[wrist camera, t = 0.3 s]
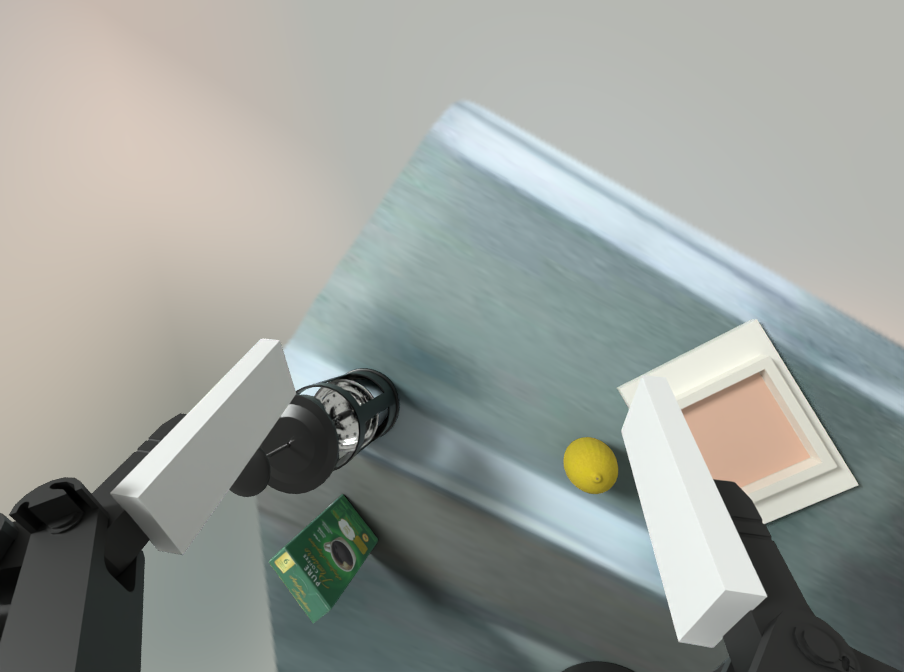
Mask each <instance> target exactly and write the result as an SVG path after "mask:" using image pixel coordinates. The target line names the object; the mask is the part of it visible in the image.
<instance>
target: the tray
mask: <svg viewBox="0 0 904 672" xmlns="http://www.w3.org/2000/svg"><path fill="white" fill-rule="evenodd" d="M643 375H646V376H657V377H666V379H667V381H668V383H669V385H670V388H671V390H672V392H673V394H674V396H675V398H676V401H677V403H678V405H679V407H680V409H681V411H682V413H683V416H684V418H685V420H686V422H687V424H688V426H689V429H690V431H691V433H692V435H693V437H694V439H695V442H696V444H697V446H698V448H699V450H700V452H701V454H702V457H703V459H704V461H705V463H706V465H707V467H708V470H709V472H710V474H711V476H712V478H713V479H716V480H724V481H732V482H735V483H736V484H737V485H738V486H739V487H740V488H741V489H742V490H743V491H744V492H745V493H746V494H747V495H748V496H749V497H750V498H751V500H752V501H753V503H754V505H755V507H756V508H757V510H758V512H759V514H760V516H761V518H762V522H763V524H766V523H768V522H770V521H773V520H775V519H778V518H780V517H782V516H785V515H787V514H790V513H792V512H795V511H797V510H799V509H802V508H804V507H807V506H809V505H812V504H814V503H816V502H819V501H821V500H824V499H826V498H828V497H831V496H833V495H836V494H838V493H841V492H843V491H845V490H848V489H850V488H853V487H855V486H858V483H857V481H856V480H855V478H854V476H853V475H852V473H851V472H850V470H849V468H848V467H847V465H846V463H845V462H844V460H843V459H842V457H841V455H840V454H839V452H838V450H837V449H836V447H835V445H834V444H833V442H832V441H831V439H830V437H829V436H828V434H827V432H826V431H825V429H824V428H823V426H822V424H821V423H820V421H819V419H818V418H817V416H816V415H815V413H814V411H813V410H812V408H811V406H810V405H809V403H808V401H807V400H806V398H805V397H804V395H803V393H802V392H801V390H800V388H799V387H798V385H797V384H796V382H795V380H794V379H793V377H792V375H791V374H790V372H789V371H788V369H787V367H786V366H785V364H784V362H783V361H782V359H781V358H780V356H779V354H778V353H777V351H776V349H775V348H774V346H773V344H772V343H771V341H770V340H769V338H768V336H767V335H766V333H765V331H764V330H763V328H762V327H761V325H760V323H759V322H758V320H757V319H751V320H750V321H748V322H746V323H744V324H742V325H740V326H738V327H736V328H734V329H732V330H730V331H728V332H726V333H724V334H722V335H720V336H718V337H716V338H714V339H712V340H710V341H708V342H706V343H704V344H702V345H700V346H698V347H696V348H694V349H692V350H690V351H688V352H686V353H684V354H683V355H681V356H679V357H677V358H675V359H673V360H671V361H669V362H667V363H665V364H663V365H661V366H659V367H657V368H655V369H653V370H651V371H649V372H647V373H645V374H643ZM641 376H642V375H641ZM641 376H639V377H637V378H635V379H633V380H631V381H629V382H627V383H625V384H623V385H621V386H619V387H617V389H618V391H619V392H620V394H621V396H622V398H623V399H624V401H625V403H626V404H627V406H628V408H629V409H630V406H631V403H632V400H633V398H634V395H635V392H636V390H637V387H638V384H639V382H640V379H641Z"/></svg>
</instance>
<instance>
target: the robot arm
mask: <svg viewBox="0 0 904 672" xmlns="http://www.w3.org/2000/svg"><path fill="white" fill-rule="evenodd" d="M295 395H296V391H295V388H294V385H293V381H292V378H291V375H290V372H289V368H288V365H287V362H286V359H285V355H284V352H283V349H282V345H281V343H280V340H271V339H260V340H259V341H258V342H257V343H256V344H255V345H254V347H252V348H251V349H250V351H249V352H248V353H247V354H246V355H245V356H244V357H243V358H242V359H241V360H240V361H239V362H238V363H237V364H236V365H235V366H234V367H233V368H232V369H231V370H230V371H229V372H228V373H227V374H226V375H225V376H224V377H223V378H222V379H221V380H220V381H219V382H218V383H217V384H216V385H215V386H214V387H213V388H212V389H211V390H210V391H209V393H207V395H206V396H205V397H204V398H203V399H202V400H201V401H200V402H199V403H198V404H197V405H196V406H195V407H194V408H193V409H192V410H191V411H190V412H189V413H188V414H179V415H177V416H175V417H174V418H172V419H170V420H169V421H167V422H166V423H164V424H162V425H161V426H160V427H159V428H158V429H157V430H156V431H155V432H154V433H153V434H152V435H151V436H150V437H149V440H148V441H145V442H144V443H143V444H142V445H141V446H140V447H139V448H138V451H137V452H134V453H133V454H132V455H131V456H130V457H129V458H128V459H127V460H126V461H125V462H124V463H123V464H122V465H121V466H120V467H119V468H118V469H117V470H116V471H115V472H114V473H113V474H111V475H110V476H109V477H108V478H107V479H106V480H105V482H103V483H102V484H101V485H100V486H99V487H98V488H97V489H96V490H95V491H94V492H93V493H92V494H91V493H90V492H89V491H88V489H86V487H85V486H84V485H83V484H82V483H81V482H80V481H79V480H77V479H76V478H66V477H65V478H60V479H56V480H52V481H50V482H48V483H45V484H43V485H41V486H39V487H37V488H36V489H34V490H33V491H31V492H30V493H28V494H26V495H25V496H24V497H23V498H22V499H21V500H20V501H19V502H18V503H17V504H16V505H15V506H14V507H13V509H12V511H11V512H10V514H9V515H10V516H11V517H12V518H13V519H14V520H15V522H12V521H10V520H9V519H8V518H7V517H6V516H4V515H3V514H1V513H0V672H140V671H141V645H142V619H143V618H142V617H143V592H144V590H143V589H144V564H145V557H144V554H143V551H142V549H143V547H144V546H145V545H146V544H147V542H148V541H149V540H150V541H151V543H152V544H153V545H154V546H155V547H156V549H157V550H158V551H162V552H168V553H174V554H180V555H183V554H184V553H185V552H186V550H187V549H188V547H189V546H190V544H191V543H192V542H193V540H194V539H195V537H196V536H197V535H198V533H199V532H200V530H201V528H202V527H203V526H204V524H205V523H206V522H207V520H208V519H209V517H210V516H211V514H212V513H213V512H214V510H215V509H216V507H217V506H218V505H219V503H220V502H221V500H222V499H223V497H224V496H225V495H226V493H227V492H228V490H229V489H230V488H231V486H232V485H233V483H234V482H235V480H236V479H237V478H238V476H239V475H240V473H241V472H242V470H243V469H244V468H245V466H246V465H247V463H248V462H249V460H250V459H251V458H252V456H253V455H254V453H255V452H256V450H257V449H258V448H259V446H260V445H261V443H262V442H263V441H264V439H265V438H266V436H267V435H268V433H269V432H270V431H271V429H272V428H273V426H274V425H275V423H276V422H277V421H278V419H279V418H280V416H281V415H282V413H283V412H284V411H285V409H286V408H287V406H288V405H289V403H290V402H291V401H292V399H293V398H294V396H295ZM621 431H622V435H623V439H624V442H625V446H626V450H627V453H628V457H629V461H630V465H631V468H632V472H633V476H634V479H635V483H636V487H637V490H638V494H639V498H640V501H641V505H642V509H643V512H644V516H645V520H646V523H647V527H648V531H649V534H650V538H651V542H652V546H653V549H654V553H655V557H656V560H657V564H658V568H659V571H660V575H661V579H662V582H663V586H664V590H665V593H666V597H667V601H668V604H669V608H670V612H671V615H672V619H673V623H674V627H675V630H676V634H677V638H678V641H679V642H683V643H689V644H694V645H700V646H706V647H712V648H713V647H714V646H715V645H716V644H717V643H718V642H720V641H721V640H722V639H724V642H725V645H726V648H727V651H728V653H729V656H730V657H729V658H728V659H726V660H725V661H724V662H723V663H722V664H721V665H719V666H718V667H717V668H716V669H715V671H714V672H902V671H899V670H897V669H895V668H893V667H891V666H889V665H886V664H884V663H882V662H880V661H878V660H876V659H873V658H871V657H869V656H867V655H865V654H863V653H861V652H859V651H857V650H855V649H853V648H852V647H850V646H849V645H848V644H847V643H846V642H845V640H844V639H843V638H842V636H841V635H840V634H839V633H838V632H836V631H835V630H834V629H833V628H832V627H831V626H829V625H828V624H827V623H826V622H825V621H823V620H821V619H820V618H818V617H816V616H815V615H814V613H813V612H812V610H811V609H810V607H809V606H808V604H807V602H806V601H805V599H804V597H803V595H802V593H801V591H800V589H799V587H798V586H797V584H796V582H795V580H794V578H793V576H792V574H791V572H790V570H789V569H788V567H787V565H786V563H785V561H784V559H783V557H782V555H781V554H780V552H779V550H778V548H777V546H776V544H775V542H774V541H772V540H771V535H770V533H769V531H768V529H767V527H766V525H765V524H763V522H762V518H761V516H760V514H759V512H758V510H757V508H756V507H755V505H754V503H753V501H752V500H751V498H750V497H749V496H748V495H747V494H746V493H745V492H744V491H743V490H742V489H741V488H740V487H739V486H738V485H737V484H736V483H735V482H732V481H724V480H716V479H713V478H712V476H711V474H710V472H709V470H708V467H707V465H706V463H705V461H704V459H703V457H702V454H701V452H700V450H699V448H698V446H697V444H696V442H695V439H694V437H693V435H692V433H691V431H690V429H689V426H688V424H687V422H686V420H685V418H684V416H683V413H682V411H681V409H680V407H679V405H678V403H677V401H676V398H675V396H674V394H673V392H672V390H671V388H670V385H669V383H668V381H667V379H666V377H657V376H646V375H642V376H641V379H640V382H639V384H638V387H637V390H636V392H635V395H634V398H633V400H632V403H631V406H630V409H629V411H628V414H627V417H626V419H625V422H624V425H623V428H622V430H621ZM562 672H633V671H631V670H629V669H627V668H624V667H622V666H619V665H616V664H612V663H606V662H586V663H581V664H577V665H574V666H572V667H569V668H567V669H565V670H564V671H562Z"/></svg>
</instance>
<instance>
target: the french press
mask: <svg viewBox="0 0 904 672" xmlns="http://www.w3.org/2000/svg"><path fill="white" fill-rule="evenodd" d="M356 379H369V380H372V381H373V382H375V383H376V384H377V385H378V386H379V387H380V389H381V390H382V392H383V394H381V395H379V396H377V397H375V398H374V397H373V396H372V394H371V393H370V392H369V391H368V390H367V389H366V388H365V387H363V386H362V385H360V384H359V383H356V382H354V380H356ZM330 381H331V382H330ZM327 382H328V383H327ZM312 387H321V388H320V389H319V390H318V391H317V392H316V394H315V396H309V395H299V394H300V393H301V392H303V391H304V390H306V389H308V388H312ZM387 407H388V414H387V417H386V419H385V420H384V422H383V423H382V424H381V425H380V426H378V427H377V425H378V419H379V413H380V412H381V411H383V410H384V409H386V408H387ZM398 414H399V397H398V393H397V391H396V389H395V387H394V385H393V384H392V382H391V381H390V380H389V379H388V378H387V377H386V376H385V375H383V374H382V373H380V372H378V371H376V370H373V369H368V368H360V369H355V370H352V371H350V372H348V373H346V374H345V375H341V376H338V377H335V378H332V379H328V380H325V381H322V382H319V383H316V384H312V385H309V386H306V387H303V388H301V389H299V390H297V391H296V395H295V396H294V398H293V399H292V401H291V402H290V403H289V405H288V406H287V408H286V409H285V411H284V412H283V413H282V415H281V416H280V418H279V419H278V421H277V422H276V423H275V425H274V426H273V428H272V429H271V431H270V432H269V433H268V435H267V436H266V438H265V439H264V441H263V442H262V443H261V445H260V446H259V448H258V449H257V450H256V452H255V453H254V455H253V456H252V458H251V459H250V460H249V462H248V463H247V465H246V466H245V468H244V469H243V470H242V472H241V473H240V475H239V476H238V478H237V479H236V480H235V482H234V483H233V485H232V486H231V488H230V489H229V490H230V491H232V492H233V493H235V494H237V495H239V496H243V497H251V496H255V495H257V494H259V493H260V492H262V491H263V490H264V489H265V488H266V486H267V484H268V485H269V486H270V487H272V488H274V489H276V490H278V491H281V492H285V493H289V494H300V493H306V492H309V491H311V490H314V489H315V488H317V487H318V486H320V485H321V484H323V483H324V482H325V481H326V479H327V478H328V477H329V476H330V475H331V473H332V471H334V470H337V469H339V468H341V467H342V466H344V465H345V464H347V463H348V462H349V461H350V460H352V459H353V458H354V456H355V455H357V454H358V453H359V452H360V451H362V450H363V449H364V448H365V447H366V446H368V445H369V444H370V443H371V442H372V441H374V440H375V439H377V438H378V437H381V436H383V435H384V434H386V433H387V432H388V431H389V430H390V429H391V428H392V427H393V425H394V424H395V422H396V420H397V417H398ZM339 451H346V452H348V453H347V454H346V455H344V456H343V457H342V458H340V459H339ZM349 451H350V452H349Z"/></svg>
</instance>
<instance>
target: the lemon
mask: <svg viewBox="0 0 904 672" xmlns="http://www.w3.org/2000/svg"><path fill="white" fill-rule="evenodd" d="M564 468H565V471H566V474H567V476H568V478H569V479H570V481H571V482H572V483H573V484H574V485H575V486H576V487H577V488H579V489H580V490H582V491H584V492H587V493H590V494H599V493H603V492H605V491H608V490H609V489H610V488H611V487H612V486H613V485H614V483H615V482H616V479H617V476H618V464H617V460H616V457H615V455H614V453H613V452H612V450H611V449H610V448H609V447H608V446H607V445H606V444H605V443H603V442H602V441H600V440H598V439H595V438H590V437H584V438H579V439H576V440H575V441H573V442H572V443H571V444H570V445H569V446H568V447H567V449H566V451H565V454H564Z"/></svg>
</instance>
